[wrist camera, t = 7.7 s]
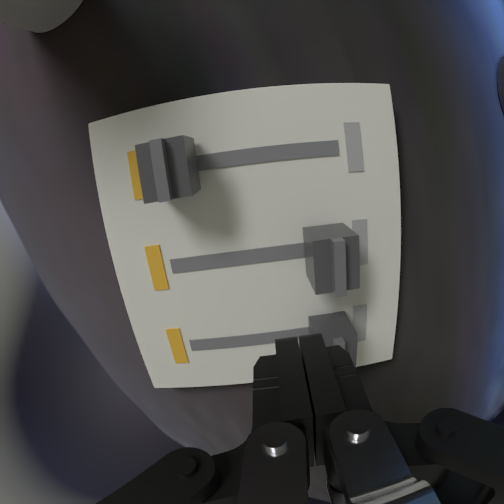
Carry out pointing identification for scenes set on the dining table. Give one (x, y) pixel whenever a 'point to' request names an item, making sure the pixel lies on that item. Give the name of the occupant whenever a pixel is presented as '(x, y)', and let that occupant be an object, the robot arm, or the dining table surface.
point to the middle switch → (332, 258)
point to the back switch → (335, 331)
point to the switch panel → (252, 224)
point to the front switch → (167, 169)
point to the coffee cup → (37, 13)
